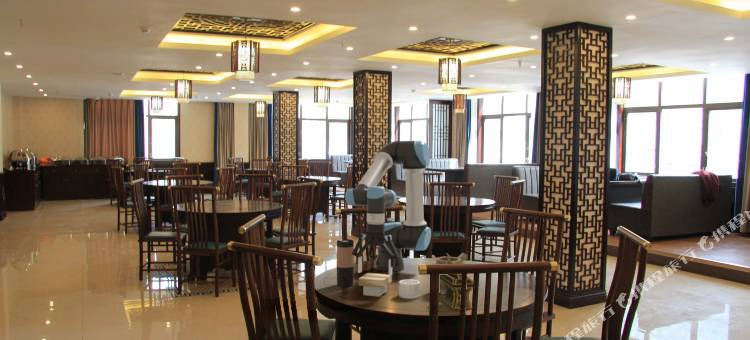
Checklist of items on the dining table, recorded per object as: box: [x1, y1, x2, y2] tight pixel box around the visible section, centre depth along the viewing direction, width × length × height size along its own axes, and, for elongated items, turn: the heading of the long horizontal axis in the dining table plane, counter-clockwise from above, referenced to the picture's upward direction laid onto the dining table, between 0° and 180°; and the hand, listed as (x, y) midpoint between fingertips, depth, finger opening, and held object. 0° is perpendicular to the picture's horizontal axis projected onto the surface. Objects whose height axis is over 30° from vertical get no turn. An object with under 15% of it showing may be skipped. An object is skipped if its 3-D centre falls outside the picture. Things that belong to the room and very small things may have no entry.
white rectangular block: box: [362, 285, 388, 298], centre depth 238 cm, size 10×7×4 cm
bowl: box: [398, 278, 421, 300], centre depth 233 cm, size 9×9×6 cm
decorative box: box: [440, 252, 474, 310], centre depth 222 cm, size 20×10×20 cm, turn 13°
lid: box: [358, 272, 393, 288], centre depth 238 cm, size 11×11×3 cm
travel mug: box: [336, 238, 355, 288], centre depth 251 cm, size 8×8×20 cm
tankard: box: [435, 252, 467, 294], centre depth 244 cm, size 20×13×15 cm, turn 136°
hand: (375, 273), depth 237 cm, fingers open, 13 cm apart
